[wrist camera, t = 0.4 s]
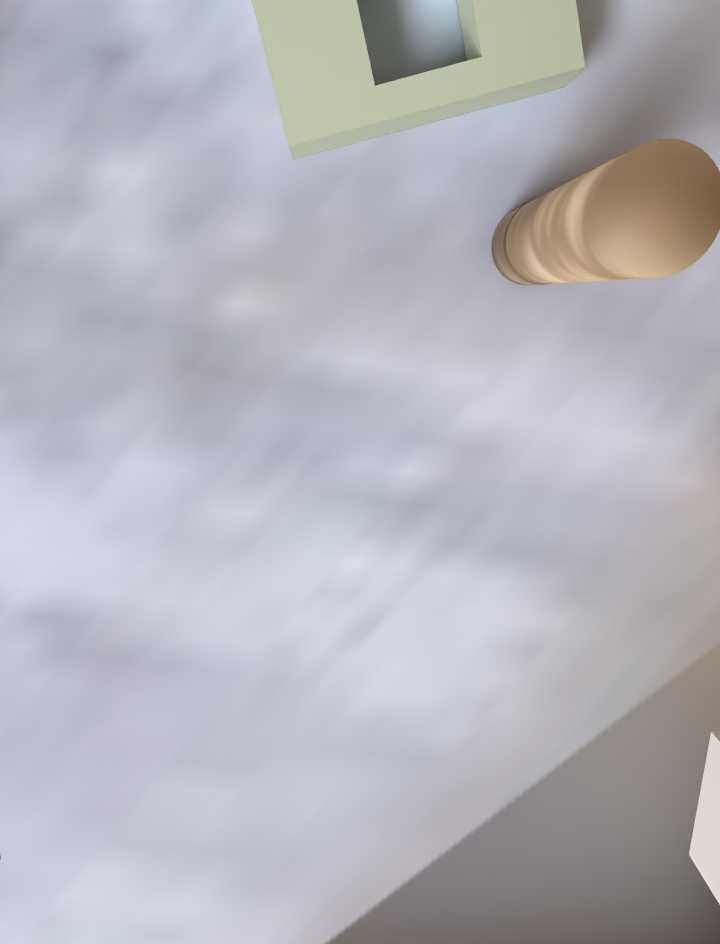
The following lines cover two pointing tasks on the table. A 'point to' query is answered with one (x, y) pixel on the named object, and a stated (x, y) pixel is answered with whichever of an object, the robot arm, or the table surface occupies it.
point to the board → (415, 97)
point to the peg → (616, 220)
